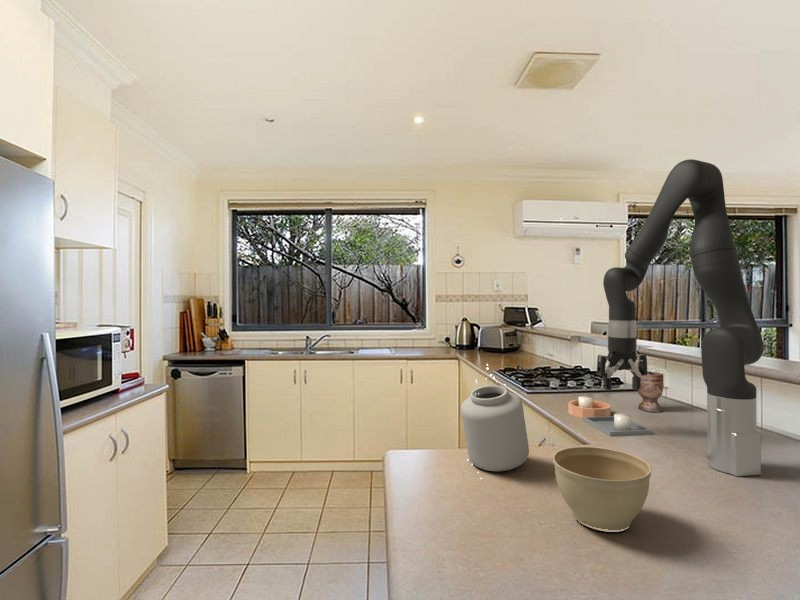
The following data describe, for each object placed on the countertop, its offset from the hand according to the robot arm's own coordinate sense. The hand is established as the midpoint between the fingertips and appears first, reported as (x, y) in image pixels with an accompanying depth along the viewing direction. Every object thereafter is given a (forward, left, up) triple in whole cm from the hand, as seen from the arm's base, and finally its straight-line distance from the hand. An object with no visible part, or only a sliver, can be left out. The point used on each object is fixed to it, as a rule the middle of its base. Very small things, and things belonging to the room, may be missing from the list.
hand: (621, 390), depth 128 cm
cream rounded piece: (0, 0, -12) cm, 12 cm away
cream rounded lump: (+21, 0, -12) cm, 24 cm away
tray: (+3, 0, -13) cm, 13 cm away
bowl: (+19, 0, -13) cm, 23 cm away
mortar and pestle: (+25, -24, -13) cm, 37 cm away
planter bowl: (-46, +33, -13) cm, 58 cm away
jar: (-19, +45, -13) cm, 51 cm away
